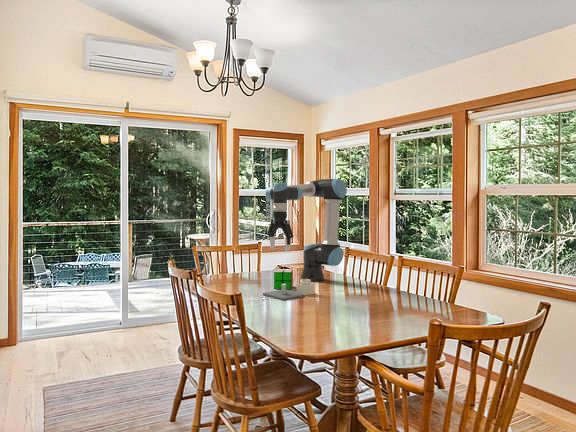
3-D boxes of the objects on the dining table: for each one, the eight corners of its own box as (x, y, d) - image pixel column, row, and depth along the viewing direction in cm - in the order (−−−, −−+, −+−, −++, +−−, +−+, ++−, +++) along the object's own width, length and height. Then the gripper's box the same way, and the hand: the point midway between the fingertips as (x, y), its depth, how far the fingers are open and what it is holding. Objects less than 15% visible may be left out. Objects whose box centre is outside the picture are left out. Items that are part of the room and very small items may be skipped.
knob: (307, 292, 255) (307, 277, 255) (314, 293, 251) (314, 278, 251) (296, 293, 250) (296, 278, 250) (303, 295, 246) (303, 280, 246)
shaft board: (284, 291, 256) (284, 280, 256) (304, 296, 243) (304, 285, 243) (262, 295, 246) (262, 283, 246) (283, 300, 233) (283, 288, 233)
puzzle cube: (292, 286, 272) (292, 269, 272) (291, 289, 262) (291, 272, 262) (276, 285, 273) (276, 269, 273) (273, 289, 263) (274, 271, 263)
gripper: (261, 210, 258) (261, 248, 259) (289, 211, 239) (288, 252, 240) (271, 210, 263) (271, 247, 264) (300, 211, 243) (299, 251, 244)
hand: (279, 249), depth 252 cm, fingers open, 13 cm apart
